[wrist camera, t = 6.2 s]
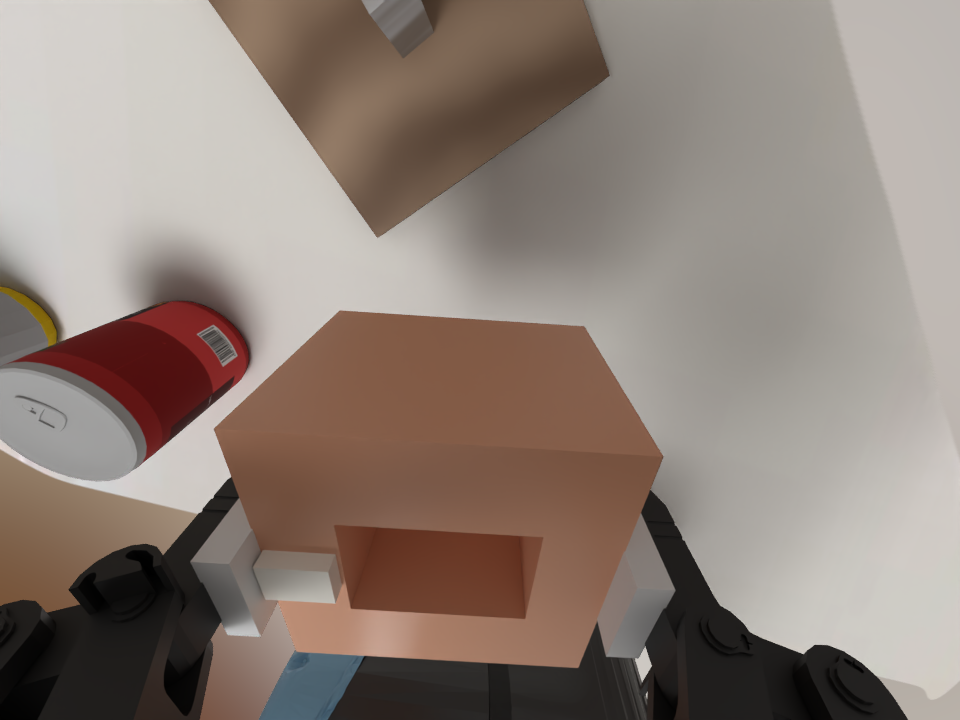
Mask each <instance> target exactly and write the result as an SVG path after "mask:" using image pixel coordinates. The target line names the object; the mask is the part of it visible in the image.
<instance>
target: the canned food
mask: <svg viewBox="0 0 960 720" xmlns="http://www.w3.org/2000/svg"><path fill="white" fill-rule="evenodd" d="M248 362H249V353H248V349H247V346H246V343H245V341H244V339H243V337H242V336H241V334H240V333H239V332H238V330H237V329H236V328H235V327H234V326H233V325H232V324H231V322H229V321H228V320H227V319H226V318H225V317H223V316H222V315H221V314H219V313H217V312H216V311H214V310H213V309H210V308H208V307H206V306H204V305H201V304H197V303H194V302H187V301H172V302H162V303H159V304H156V305H153V306H151V307H148V308H146V309H143V310H140V311H138V312H135V313H133V314H130V315H128V316H125V317H123V318H120V319H118V320H115V321H112V322H110V323H107V324H105V325H102V326H100V327H97V328H95V329H92V330H89V331H87V332H84V333H82V334H79V335H77V336H74V337H72V338H69V339H67V340H64V341H61V342H59V343H56V344H54V345H51V346H49V347H46V348H44V349H41V350H39V351H36V352H33V353H31V354H28V355H26V356H24V357H22V358H19V359H17V360H14V361H12V362H9V363H7V364H4V365H2V366H0V439H1V440H2V441H3V442H5V443H6V444H7V445H8V446H9V447H11V448H12V449H13V450H15V451H16V452H18V453H19V454H21V455H22V456H24V457H25V458H27V459H29V460H31V461H32V462H34V463H36V464H38V465H40V466H42V467H44V468H47V469H49V470H51V471H54V472H56V473H59V474H62V475H65V476H68V477H72V478H77V479H82V480H89V481H110V480H115V479H119V478H121V477H123V476H125V475H127V474H128V473H130V472H131V471H132V470H134V469H136V468H137V467H139V466H140V465H141V464H142V463H143V462H144V461H146V460H147V459H148V458H149V457H151V456H152V455H153V454H155V453H156V452H157V451H158V450H159V449H160V448H162V447H163V446H164V445H165V444H166V443H167V442H169V441H170V440H171V439H172V438H173V437H175V436H176V435H177V434H178V433H179V432H180V431H182V430H183V429H184V428H185V427H186V426H187V425H189V424H190V423H191V422H192V421H193V420H195V419H196V418H197V417H198V416H199V415H200V414H202V413H203V412H204V411H205V410H206V409H207V408H209V407H210V406H211V405H212V404H213V403H215V402H216V401H217V400H218V399H219V398H220V397H222V396H223V395H224V394H225V393H226V392H227V391H229V390H230V389H231V388H232V387H233V386H235V385H236V384H237V383H238V382H239V381H240V380H241V379H242V377H243V375H244V373H245V371H246V369H247V367H248Z"/></svg>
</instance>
